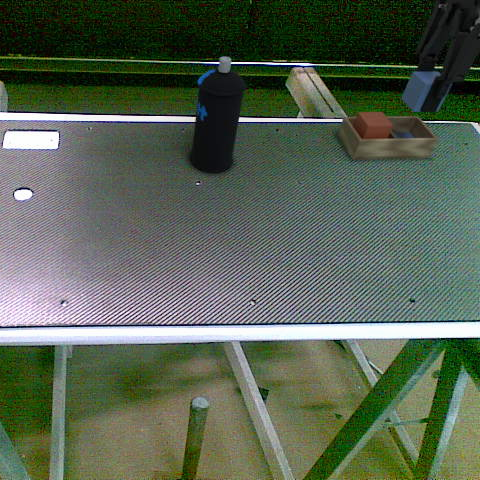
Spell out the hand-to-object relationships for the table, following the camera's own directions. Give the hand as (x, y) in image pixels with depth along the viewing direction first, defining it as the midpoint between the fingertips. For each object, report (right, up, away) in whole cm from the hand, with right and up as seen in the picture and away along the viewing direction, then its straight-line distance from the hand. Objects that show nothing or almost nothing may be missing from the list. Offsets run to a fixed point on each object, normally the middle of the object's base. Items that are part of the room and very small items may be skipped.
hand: (420, 102), depth 90 cm
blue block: (0, 0, 0) cm, 0 cm away
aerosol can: (-40, -11, +1) cm, 41 cm away
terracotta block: (-8, -6, +6) cm, 12 cm away
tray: (-4, -7, +7) cm, 11 cm away
